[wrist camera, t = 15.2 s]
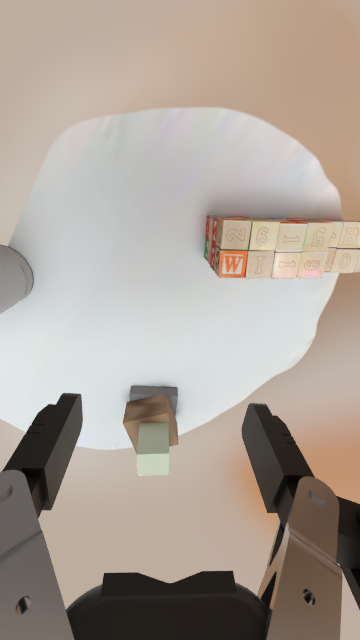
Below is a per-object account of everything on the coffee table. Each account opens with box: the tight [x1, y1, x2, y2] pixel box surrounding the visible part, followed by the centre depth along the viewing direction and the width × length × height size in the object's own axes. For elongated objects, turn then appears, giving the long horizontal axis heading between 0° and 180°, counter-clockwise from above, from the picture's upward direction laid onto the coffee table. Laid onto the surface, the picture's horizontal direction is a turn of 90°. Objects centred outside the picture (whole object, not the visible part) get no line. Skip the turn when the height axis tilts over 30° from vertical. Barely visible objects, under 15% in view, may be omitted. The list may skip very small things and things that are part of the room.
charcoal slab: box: [130, 386, 178, 415], centre depth 50 cm, size 9×9×3 cm
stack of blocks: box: [204, 215, 360, 279], centre depth 33 cm, size 21×6×12 cm, turn 88°
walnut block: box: [123, 393, 178, 453], centre depth 47 cm, size 8×8×5 cm
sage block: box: [136, 423, 169, 476], centre depth 42 cm, size 5×5×6 cm
